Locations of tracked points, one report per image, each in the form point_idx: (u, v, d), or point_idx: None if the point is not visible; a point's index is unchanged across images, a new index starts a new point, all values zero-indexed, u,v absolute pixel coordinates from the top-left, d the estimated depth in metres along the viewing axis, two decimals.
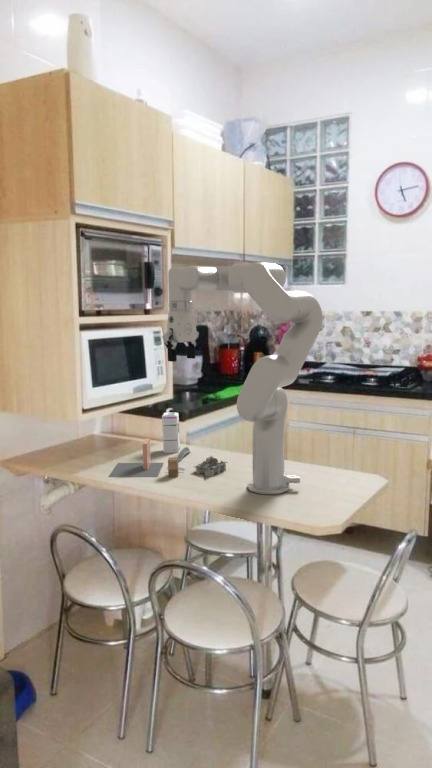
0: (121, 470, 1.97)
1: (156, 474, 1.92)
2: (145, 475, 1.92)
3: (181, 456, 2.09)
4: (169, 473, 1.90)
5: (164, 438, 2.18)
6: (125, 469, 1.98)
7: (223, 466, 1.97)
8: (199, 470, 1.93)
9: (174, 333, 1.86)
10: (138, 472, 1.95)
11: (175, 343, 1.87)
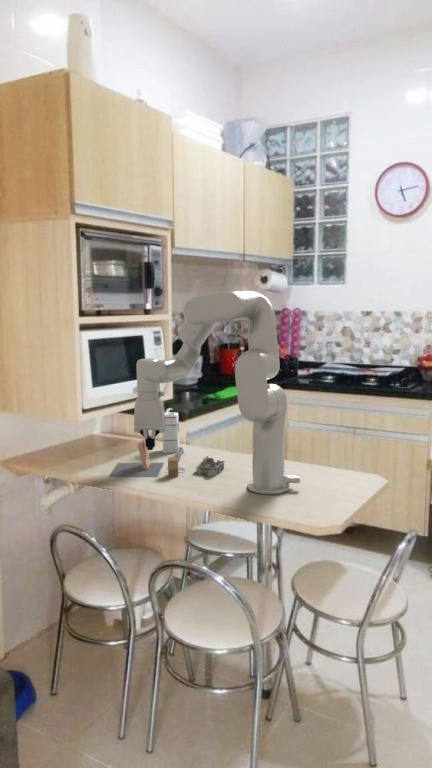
0: (121, 470, 1.97)
1: (156, 474, 1.92)
2: (145, 475, 1.92)
3: (179, 456, 2.09)
4: (169, 473, 1.90)
5: (164, 437, 2.18)
6: (125, 469, 1.98)
7: (222, 465, 1.98)
8: (201, 471, 1.92)
9: None
10: (138, 472, 1.95)
11: None
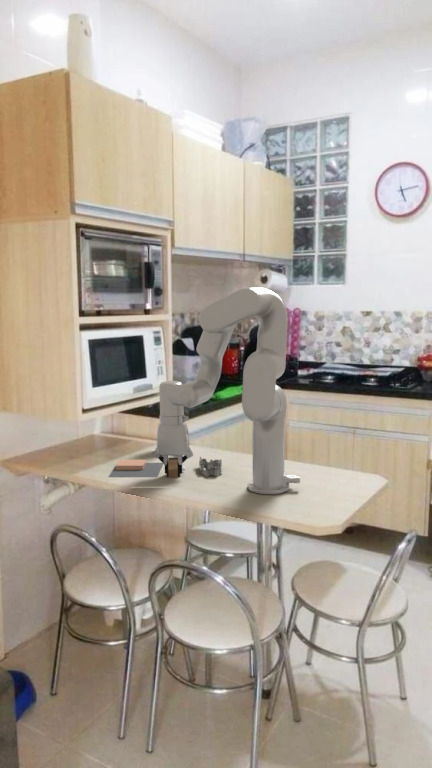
0: (121, 470, 1.97)
1: (156, 474, 1.92)
2: (145, 475, 1.92)
3: None
4: (169, 473, 1.89)
5: None
6: None
7: None
8: (207, 472, 1.91)
9: (188, 443, 1.91)
10: (138, 472, 1.95)
11: None
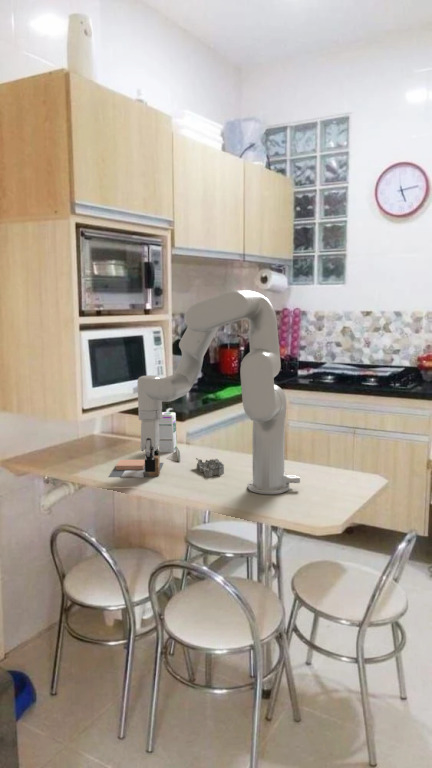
0: (121, 470, 1.97)
1: None
2: (145, 475, 1.92)
3: (179, 456, 2.09)
4: (158, 471, 1.91)
5: (160, 437, 2.19)
6: None
7: None
8: (212, 472, 1.91)
9: None
10: None
11: None
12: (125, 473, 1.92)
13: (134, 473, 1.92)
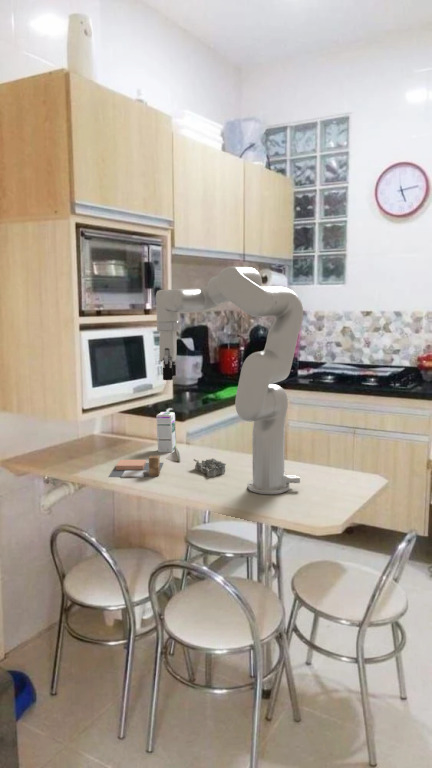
0: (121, 470, 1.97)
1: None
2: (145, 475, 1.92)
3: (179, 456, 2.09)
4: (158, 471, 1.91)
5: (159, 437, 2.19)
6: None
7: (212, 463, 2.00)
8: (215, 471, 1.91)
9: None
10: None
11: None
12: (125, 473, 1.92)
13: (134, 473, 1.92)
